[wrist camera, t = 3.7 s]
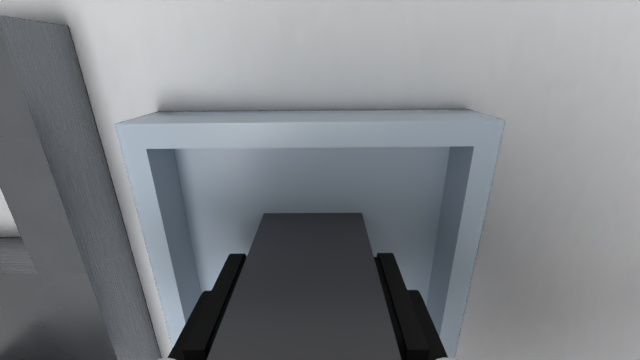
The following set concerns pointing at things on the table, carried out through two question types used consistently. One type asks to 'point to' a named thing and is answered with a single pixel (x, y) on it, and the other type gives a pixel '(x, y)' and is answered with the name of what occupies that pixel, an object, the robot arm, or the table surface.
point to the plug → (307, 294)
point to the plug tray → (313, 192)
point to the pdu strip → (61, 213)
